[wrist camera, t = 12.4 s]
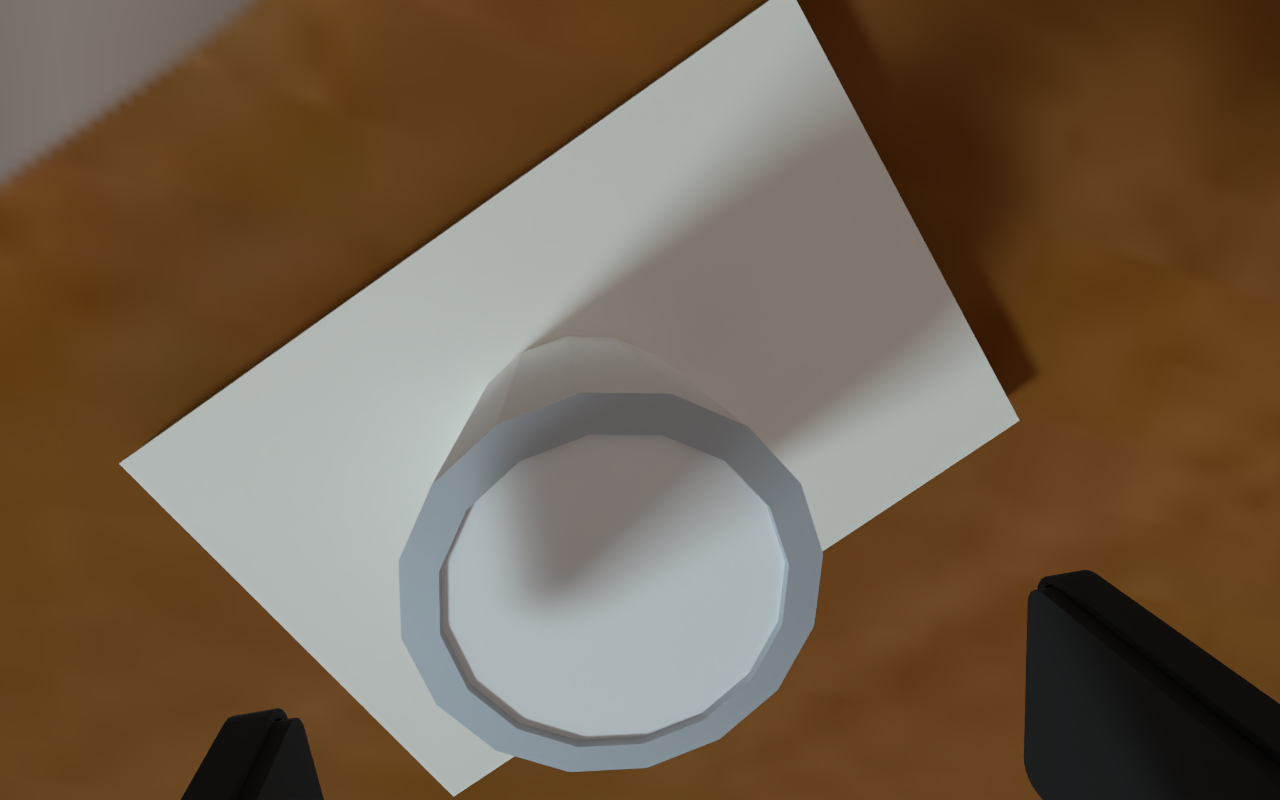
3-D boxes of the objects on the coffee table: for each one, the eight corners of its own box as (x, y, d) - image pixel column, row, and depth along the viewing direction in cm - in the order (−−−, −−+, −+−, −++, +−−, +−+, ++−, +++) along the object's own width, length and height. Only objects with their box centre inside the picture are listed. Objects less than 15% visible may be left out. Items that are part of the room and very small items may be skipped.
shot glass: (739, 548, 21) (840, 731, 14) (473, 600, 20) (447, 817, 14) (708, 284, 19) (809, 354, 12) (410, 334, 18) (343, 437, 11)
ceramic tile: (772, -3, 18) (788, -14, 17) (993, 406, 22) (1019, 420, 21) (143, 445, 19) (118, 463, 18) (457, 764, 23) (453, 796, 22)
